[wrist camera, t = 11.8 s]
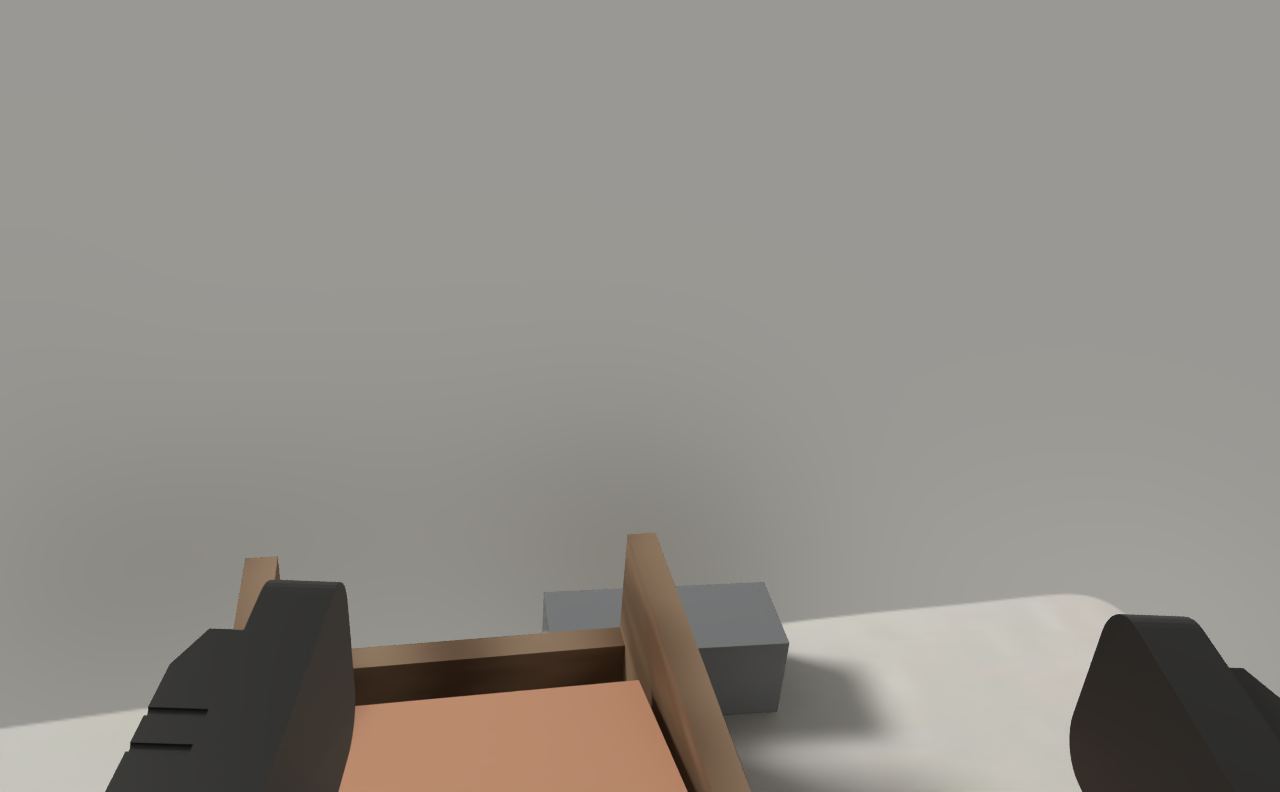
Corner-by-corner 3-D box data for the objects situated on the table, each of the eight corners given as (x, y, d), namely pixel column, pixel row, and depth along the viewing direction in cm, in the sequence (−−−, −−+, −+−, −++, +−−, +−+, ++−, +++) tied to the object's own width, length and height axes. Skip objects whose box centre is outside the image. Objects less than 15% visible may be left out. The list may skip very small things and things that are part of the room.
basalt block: (776, 714, 53) (549, 729, 51) (752, 651, 57) (540, 663, 55) (789, 643, 51) (552, 656, 49) (763, 582, 55) (543, 592, 53)
